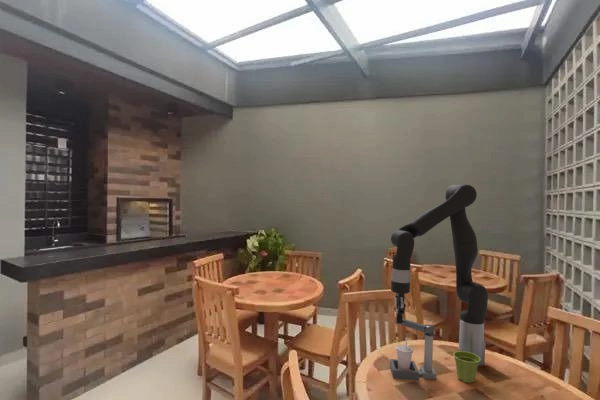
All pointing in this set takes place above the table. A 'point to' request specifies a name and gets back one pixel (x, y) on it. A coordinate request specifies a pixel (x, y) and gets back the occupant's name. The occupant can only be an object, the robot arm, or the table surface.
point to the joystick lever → (418, 326)
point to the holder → (415, 373)
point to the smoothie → (404, 356)
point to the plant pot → (466, 365)
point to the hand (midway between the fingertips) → (399, 322)
